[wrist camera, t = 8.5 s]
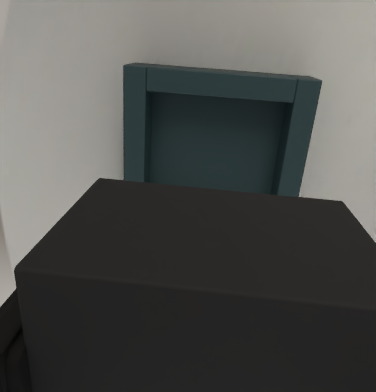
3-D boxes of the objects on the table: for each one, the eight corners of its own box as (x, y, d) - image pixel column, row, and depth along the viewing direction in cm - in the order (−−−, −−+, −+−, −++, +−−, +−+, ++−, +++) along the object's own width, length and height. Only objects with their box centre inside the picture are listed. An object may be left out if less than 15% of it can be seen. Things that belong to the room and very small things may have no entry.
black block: (104, 356, 11) (46, 507, 8) (98, 177, 9) (11, 267, 5) (296, 380, 11) (335, 549, 7) (343, 200, 9) (435, 314, 5)
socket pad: (133, 218, 24) (123, 236, 22) (134, 62, 20) (123, 64, 18) (280, 233, 24) (286, 253, 21) (310, 76, 20) (322, 80, 18)
